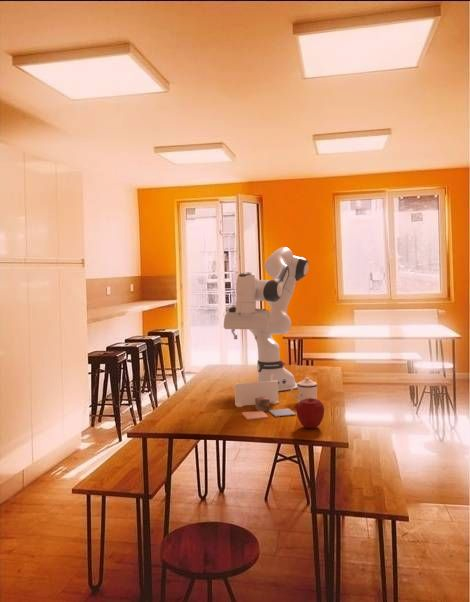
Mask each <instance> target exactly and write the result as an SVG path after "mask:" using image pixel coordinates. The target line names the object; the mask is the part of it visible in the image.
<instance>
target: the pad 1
mask: <svg viewBox="0 0 470 602" xmlns="http://www.w3.org/2000/svg"><path fill="white" fill-rule="evenodd" d="M241 415H242V416H243V417H244V418H245V420H247V421H249V420H261V419H269V416H268V414H266V412H265V411H258V410H256V411H243V412H241Z"/></svg>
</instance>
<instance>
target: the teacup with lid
mask: <svg viewBox="0 0 470 602" xmlns="http://www.w3.org/2000/svg"><path fill="white" fill-rule="evenodd" d="M297 383H298V384H297V386H298V387H293V388H292V389H290V393H291V396H292V397H293V398H295V399H297V404H298V403H299V402H300V401H301V400H304V399H308V398H314V399H317V400H318V383H317V382H316V381H313V380H312V379H310V377H304V379H303V380H301V381H299V382H297ZM295 389H297V395H295V394H294V393H293V391H294V390H295Z"/></svg>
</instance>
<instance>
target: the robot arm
mask: <svg viewBox="0 0 470 602" xmlns="http://www.w3.org/2000/svg"><path fill="white" fill-rule="evenodd" d="M309 266H310V265H309V261H308V259H306V258H304V257H303V256H297V255H294V253H293V251H292V250H291V249H290V248H288V247H287V246H286V247H285V246H281V247H279V248H277V249H275V251H273V252H272V253H271V254H270V255H269V256H268V258H267V259H266V261H265V263H264V270H265V271H266V274H267V275H268V276H269V277H271V278H273V279H257V278H256V276H255V273H254V272H248V271H247V272H241V273H239V274H238V275H237V278H236V283H235V284H236V285H235V287H236V288H235V290H236V291H235V292H236V301H235V303H236V304H235V305H232V306H229V307H227V308H226V309H225V311H226V314H225V315H224V318H223V328H224V329H225V330H231V334H232V335H233V339H234V340H238V335H237V334H236V333H235V331H236V330H249V332H251V333H252V335H253V336H254V340H255V342H256V346H257V356H258V357H257V359H258V360H257V363H256V364H257V365H256V367H257V379H256V382H262V381H276V380H277V381H278V392H281V391H287V390H289V391H290V390H291V389H292V388H293V387H298V386H297V384H298V382H296V380H295V377H294V374H293V373H291V372H290V371H289V370H288V369H286V368H285V367H284V366H287V362H286V361H283V360H281V359H280V357H281V355H280V349H281V348H280V345H279V343H278V342H277V341H276V340H275V339H274V338H273V335H284V334H287V333H289V331H290V330H291V327H292V320H291V318H290V316H289V315H288V306H289V304H290V302H291V299H292V297H293V294H294V291H295V287H296V282H298V281H300V280H302V279H303V278H304V277H306V276H307V273H308V271H309V269H310V268H309ZM257 301H259V302H263V301H264V302H267V304H268V306H269V308H270V311H269V310H268V309H266V308H257Z"/></svg>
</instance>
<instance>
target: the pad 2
mask: <svg viewBox="0 0 470 602" xmlns="http://www.w3.org/2000/svg"><path fill="white" fill-rule="evenodd" d="M268 413H270V414H271V415H272V416H273V415H274V416H275V417H274V416H273V417H274V418H281V417H280V416H284V417H291V416H290V415H294V416H297V413H295V412H294V411H293V410H291V408H278V409H270V410H268Z"/></svg>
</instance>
